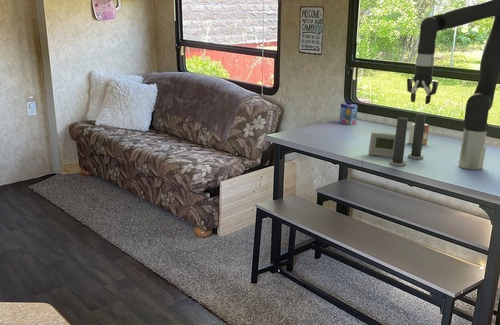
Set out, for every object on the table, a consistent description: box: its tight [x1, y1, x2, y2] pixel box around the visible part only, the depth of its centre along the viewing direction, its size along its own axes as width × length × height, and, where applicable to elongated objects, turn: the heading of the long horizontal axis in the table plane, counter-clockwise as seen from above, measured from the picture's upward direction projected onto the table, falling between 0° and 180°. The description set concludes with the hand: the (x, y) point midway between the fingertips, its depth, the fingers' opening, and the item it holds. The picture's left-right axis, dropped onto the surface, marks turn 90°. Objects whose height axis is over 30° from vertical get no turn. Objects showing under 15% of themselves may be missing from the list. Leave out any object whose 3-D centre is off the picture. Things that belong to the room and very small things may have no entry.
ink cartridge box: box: [339, 100, 359, 126], centre depth 307 cm, size 10×6×14 cm, turn 35°
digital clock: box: [367, 131, 396, 159], centre depth 236 cm, size 16×9×11 cm, turn 56°
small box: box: [407, 123, 430, 145], centre depth 261 cm, size 8×6×10 cm
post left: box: [389, 117, 409, 167], centre depth 221 cm, size 7×7×21 cm
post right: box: [407, 112, 427, 161], centre depth 233 cm, size 7×7×21 cm
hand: (420, 102), depth 220 cm, fingers open, 6 cm apart
